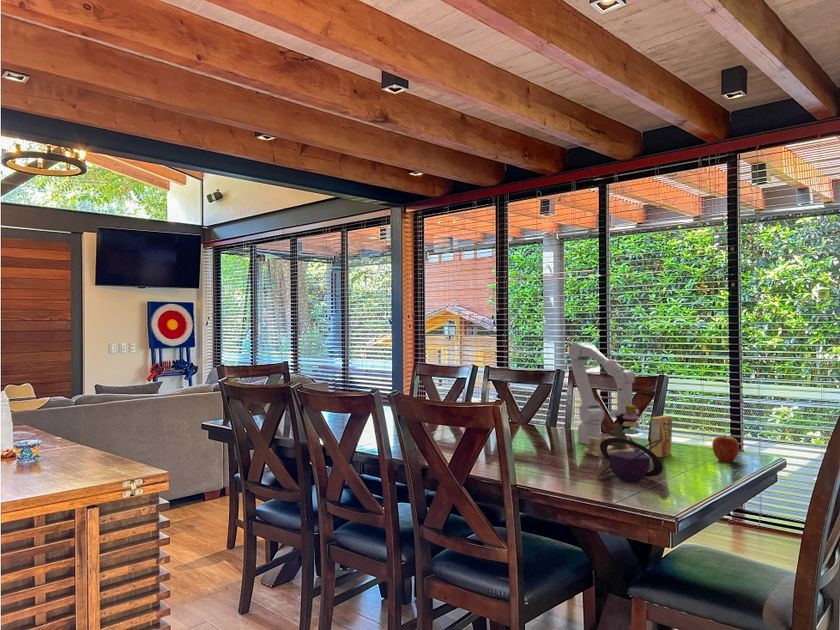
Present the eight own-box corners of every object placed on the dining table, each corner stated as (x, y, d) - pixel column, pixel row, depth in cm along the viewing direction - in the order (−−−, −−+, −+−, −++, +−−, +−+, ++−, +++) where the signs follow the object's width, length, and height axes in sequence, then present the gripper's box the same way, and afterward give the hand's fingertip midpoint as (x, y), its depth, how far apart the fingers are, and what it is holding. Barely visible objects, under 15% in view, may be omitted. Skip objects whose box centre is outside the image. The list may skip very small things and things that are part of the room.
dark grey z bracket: (610, 445, 256) (610, 423, 256) (613, 445, 256) (613, 423, 257) (621, 448, 250) (621, 425, 250) (624, 447, 251) (624, 425, 251)
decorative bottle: (677, 482, 206) (677, 406, 206) (647, 493, 191) (648, 412, 192) (614, 469, 222) (615, 399, 222) (583, 480, 207) (583, 404, 208)
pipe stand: (583, 452, 251) (583, 436, 251) (616, 448, 260) (616, 432, 260) (601, 457, 242) (601, 440, 243) (634, 453, 251) (634, 436, 251)
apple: (711, 462, 236) (711, 435, 236) (712, 457, 244) (712, 432, 244) (738, 465, 232) (738, 438, 232) (738, 460, 240) (738, 434, 240)
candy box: (662, 453, 251) (662, 415, 251) (672, 455, 248) (672, 416, 248) (650, 456, 246) (650, 417, 246) (660, 458, 242) (660, 418, 243)
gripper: (619, 401, 248) (618, 435, 248) (644, 399, 255) (644, 432, 255) (606, 399, 255) (605, 432, 254) (631, 397, 262) (631, 430, 261)
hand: (624, 432), depth 255 cm, fingers closed
